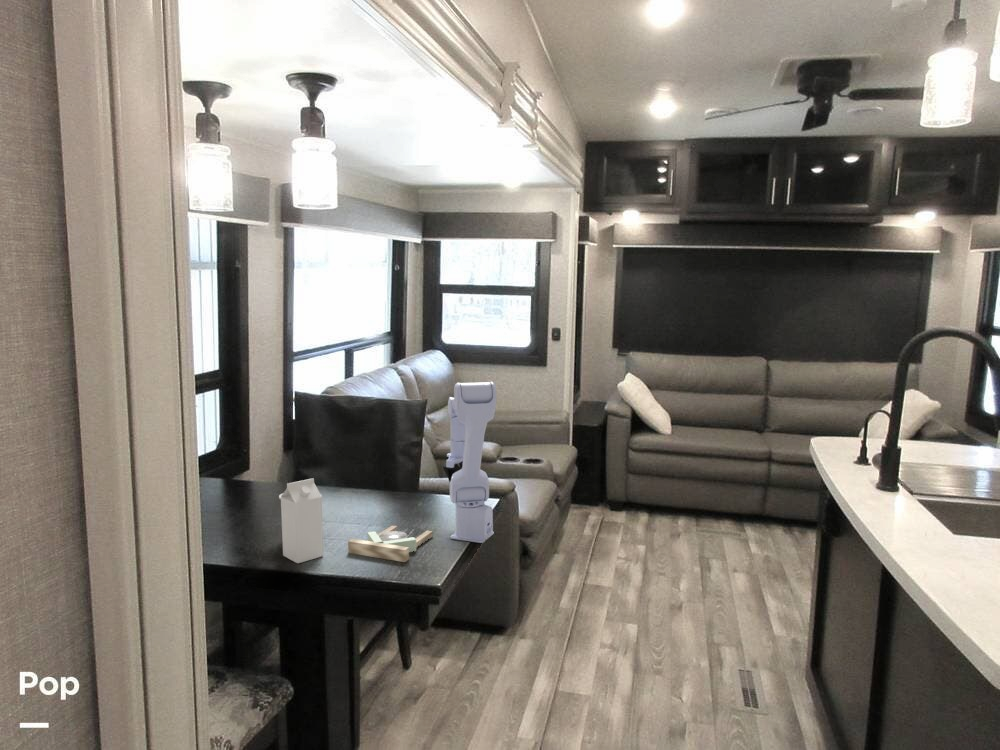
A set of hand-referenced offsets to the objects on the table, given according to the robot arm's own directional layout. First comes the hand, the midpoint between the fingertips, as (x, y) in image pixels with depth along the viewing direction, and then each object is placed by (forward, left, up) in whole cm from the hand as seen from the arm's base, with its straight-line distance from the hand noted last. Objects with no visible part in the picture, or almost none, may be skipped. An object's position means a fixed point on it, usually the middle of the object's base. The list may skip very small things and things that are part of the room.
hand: (460, 486), depth 200 cm
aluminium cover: (+7, +26, -10) cm, 28 cm away
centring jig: (+7, +26, -9) cm, 29 cm away
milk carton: (+24, +40, -10) cm, 48 cm away
